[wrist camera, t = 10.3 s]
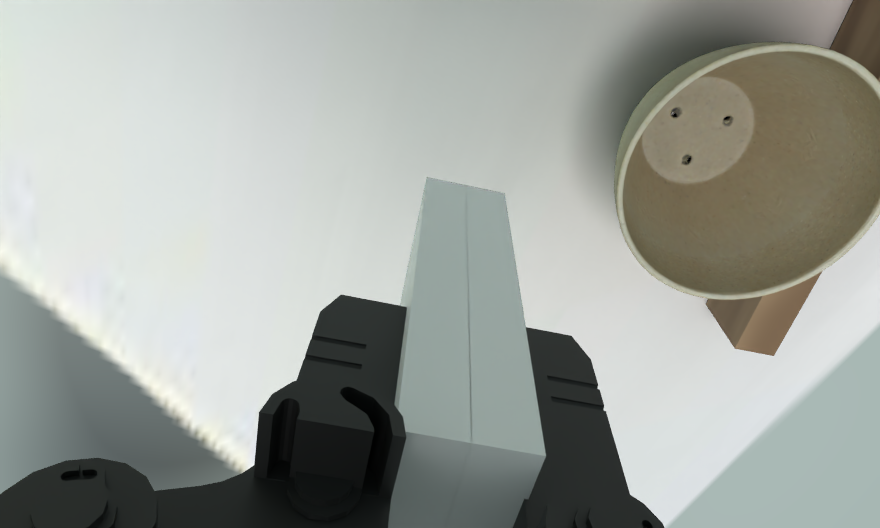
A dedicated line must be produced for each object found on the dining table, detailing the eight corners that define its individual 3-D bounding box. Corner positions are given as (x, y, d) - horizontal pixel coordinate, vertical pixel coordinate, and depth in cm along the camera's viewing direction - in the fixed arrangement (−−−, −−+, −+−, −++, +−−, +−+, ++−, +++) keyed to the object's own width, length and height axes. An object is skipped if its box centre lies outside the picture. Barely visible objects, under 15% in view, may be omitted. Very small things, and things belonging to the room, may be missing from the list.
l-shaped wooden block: (525, 268, 33) (534, 310, 30) (649, -125, 25) (681, -133, 21) (740, 311, 34) (773, 355, 31) (931, -54, 26) (1006, -50, 22)
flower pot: (669, -29, 26) (736, -13, 20) (851, 82, 28) (965, 128, 22) (544, 173, 31) (566, 238, 24) (710, 257, 33) (770, 337, 26)
